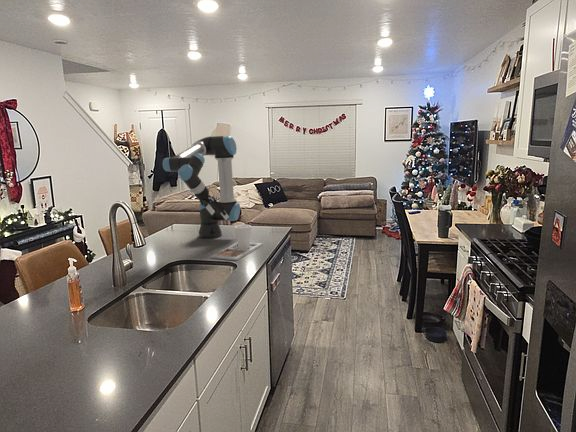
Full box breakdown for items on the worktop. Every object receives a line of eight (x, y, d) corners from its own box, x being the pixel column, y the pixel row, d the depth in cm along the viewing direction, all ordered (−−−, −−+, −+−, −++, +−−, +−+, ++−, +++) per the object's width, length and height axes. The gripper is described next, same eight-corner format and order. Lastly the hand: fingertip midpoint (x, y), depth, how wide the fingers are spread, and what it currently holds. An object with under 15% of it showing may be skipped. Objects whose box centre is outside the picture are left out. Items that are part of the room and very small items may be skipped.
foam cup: (233, 249, 224) (231, 227, 221) (240, 245, 232) (239, 224, 230) (247, 250, 220) (246, 228, 218) (254, 246, 229) (253, 225, 226)
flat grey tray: (238, 243, 237) (238, 241, 236) (262, 245, 231) (262, 243, 231) (211, 257, 209) (210, 255, 208) (237, 260, 203) (236, 258, 202)
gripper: (182, 190, 214) (203, 215, 227) (208, 198, 197) (229, 225, 210) (191, 181, 217) (211, 206, 230) (217, 188, 200) (237, 215, 213)
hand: (220, 215), depth 220 cm, fingers open, 13 cm apart
